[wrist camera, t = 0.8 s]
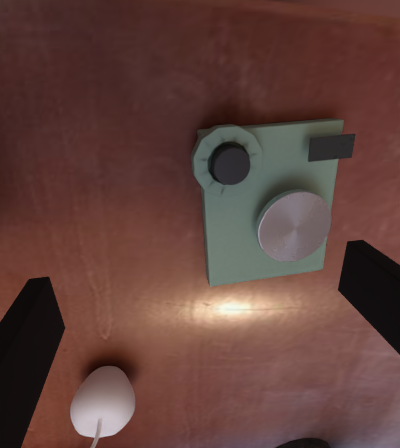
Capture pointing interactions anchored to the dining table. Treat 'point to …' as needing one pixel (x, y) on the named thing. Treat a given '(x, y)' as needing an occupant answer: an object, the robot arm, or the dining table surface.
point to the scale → (258, 194)
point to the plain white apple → (103, 403)
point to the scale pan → (301, 209)
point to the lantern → (306, 444)
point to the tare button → (230, 164)
